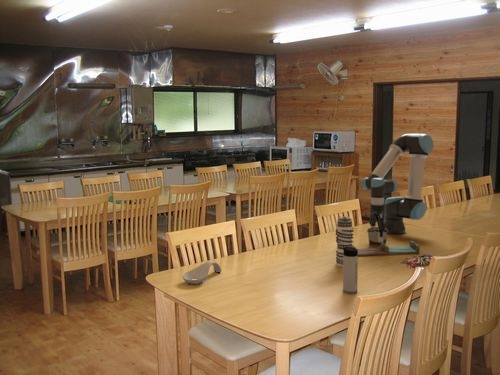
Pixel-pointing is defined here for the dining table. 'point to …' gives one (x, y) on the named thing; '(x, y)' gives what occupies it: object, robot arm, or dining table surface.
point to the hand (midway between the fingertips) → (376, 239)
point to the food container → (376, 236)
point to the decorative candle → (343, 237)
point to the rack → (389, 250)
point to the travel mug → (350, 270)
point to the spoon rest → (200, 272)
